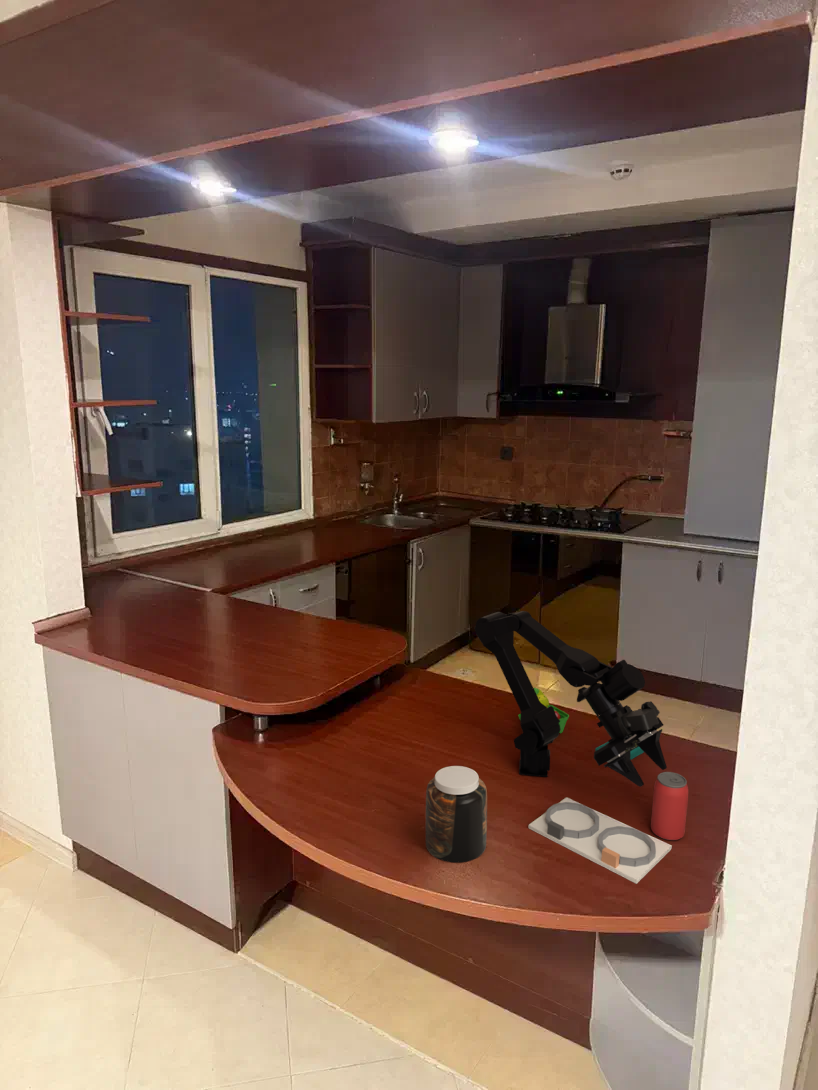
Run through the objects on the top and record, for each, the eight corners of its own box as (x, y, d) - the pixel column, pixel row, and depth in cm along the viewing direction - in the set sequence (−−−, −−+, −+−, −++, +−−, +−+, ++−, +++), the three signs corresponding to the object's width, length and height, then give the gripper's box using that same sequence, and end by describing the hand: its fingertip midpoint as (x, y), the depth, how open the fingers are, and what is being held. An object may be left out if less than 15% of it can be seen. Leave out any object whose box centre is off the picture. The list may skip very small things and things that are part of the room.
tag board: (528, 828, 152) (529, 814, 151) (566, 800, 162) (567, 787, 161) (636, 883, 136) (637, 868, 135) (671, 849, 146) (672, 834, 145)
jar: (461, 872, 139) (462, 800, 136) (414, 846, 146) (414, 778, 143) (497, 842, 148) (499, 774, 144) (450, 819, 155) (451, 754, 152)
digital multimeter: (654, 748, 184) (654, 738, 184) (619, 769, 175) (619, 758, 174) (628, 738, 190) (629, 727, 189) (593, 757, 181) (593, 746, 180)
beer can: (686, 843, 147) (692, 789, 144) (652, 839, 148) (656, 786, 146) (681, 824, 153) (686, 772, 151) (648, 820, 155) (652, 768, 152)
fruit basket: (535, 745, 186) (536, 703, 183) (513, 730, 193) (514, 690, 191) (569, 733, 191) (571, 693, 189) (547, 720, 199) (548, 681, 196)
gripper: (610, 707, 145) (658, 780, 140) (658, 680, 157) (704, 745, 152) (574, 730, 152) (619, 800, 147) (622, 702, 165) (665, 766, 159)
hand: (653, 777), depth 151 cm, fingers open, 9 cm apart
